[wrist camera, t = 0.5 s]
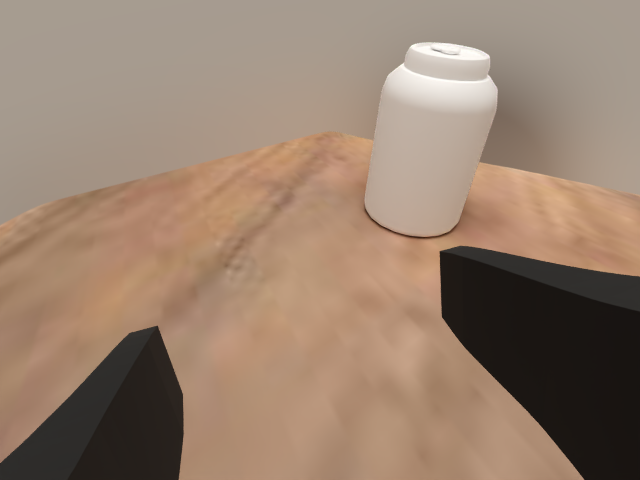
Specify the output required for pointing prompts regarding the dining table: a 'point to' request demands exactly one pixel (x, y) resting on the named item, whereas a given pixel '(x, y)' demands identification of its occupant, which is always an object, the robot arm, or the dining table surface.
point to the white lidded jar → (429, 138)
